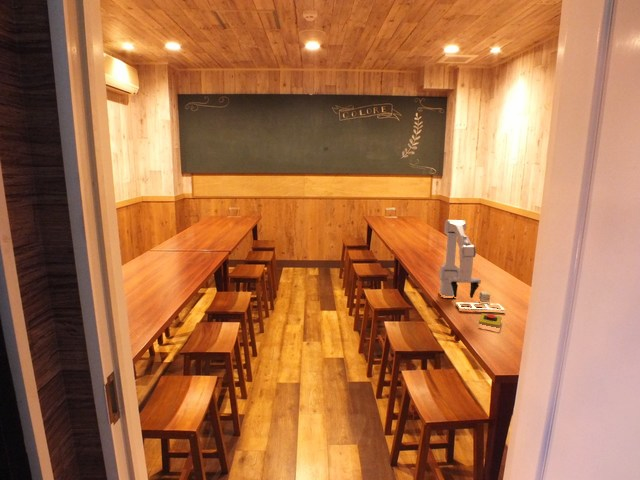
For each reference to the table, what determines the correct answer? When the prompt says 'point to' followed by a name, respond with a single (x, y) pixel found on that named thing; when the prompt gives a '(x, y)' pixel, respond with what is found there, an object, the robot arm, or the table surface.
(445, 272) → the robot arm
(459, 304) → the tan slotted board
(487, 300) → the birch peg
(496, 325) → the emergency button
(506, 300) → the table surface
